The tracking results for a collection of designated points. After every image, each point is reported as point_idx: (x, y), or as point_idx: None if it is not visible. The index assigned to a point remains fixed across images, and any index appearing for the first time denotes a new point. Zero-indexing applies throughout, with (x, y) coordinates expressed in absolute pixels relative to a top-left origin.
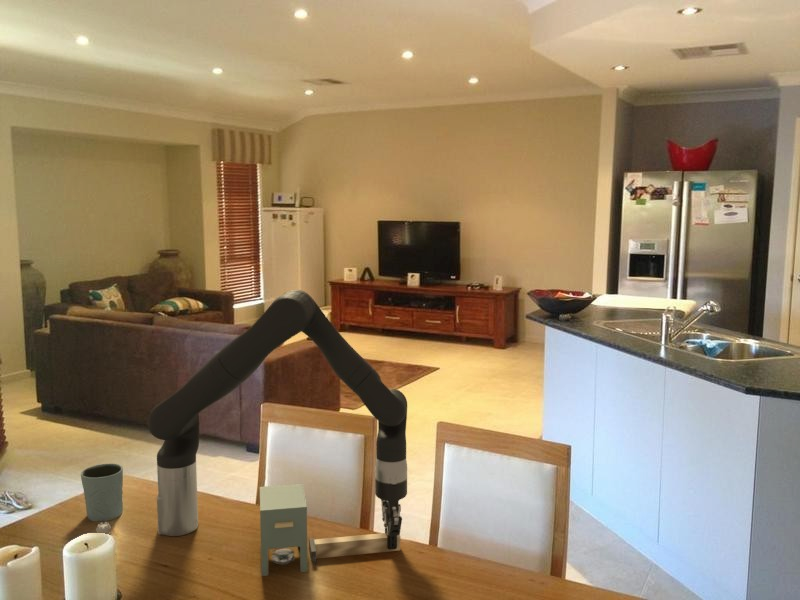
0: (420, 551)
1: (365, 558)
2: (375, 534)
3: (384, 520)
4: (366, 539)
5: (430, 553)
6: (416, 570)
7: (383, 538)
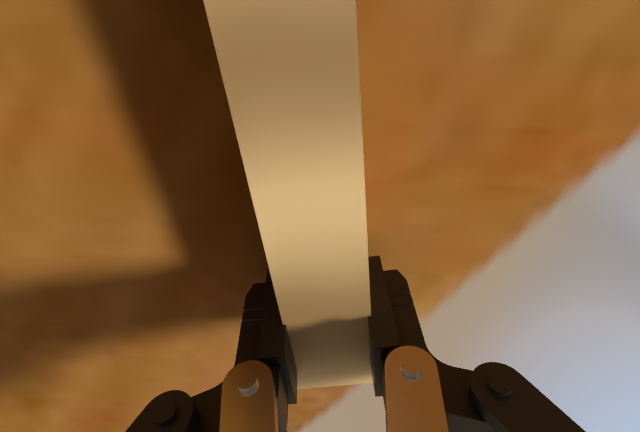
0: None
1: (172, 91)
2: (354, 248)
3: (422, 414)
4: (245, 163)
5: None
6: (77, 355)
7: (276, 298)
